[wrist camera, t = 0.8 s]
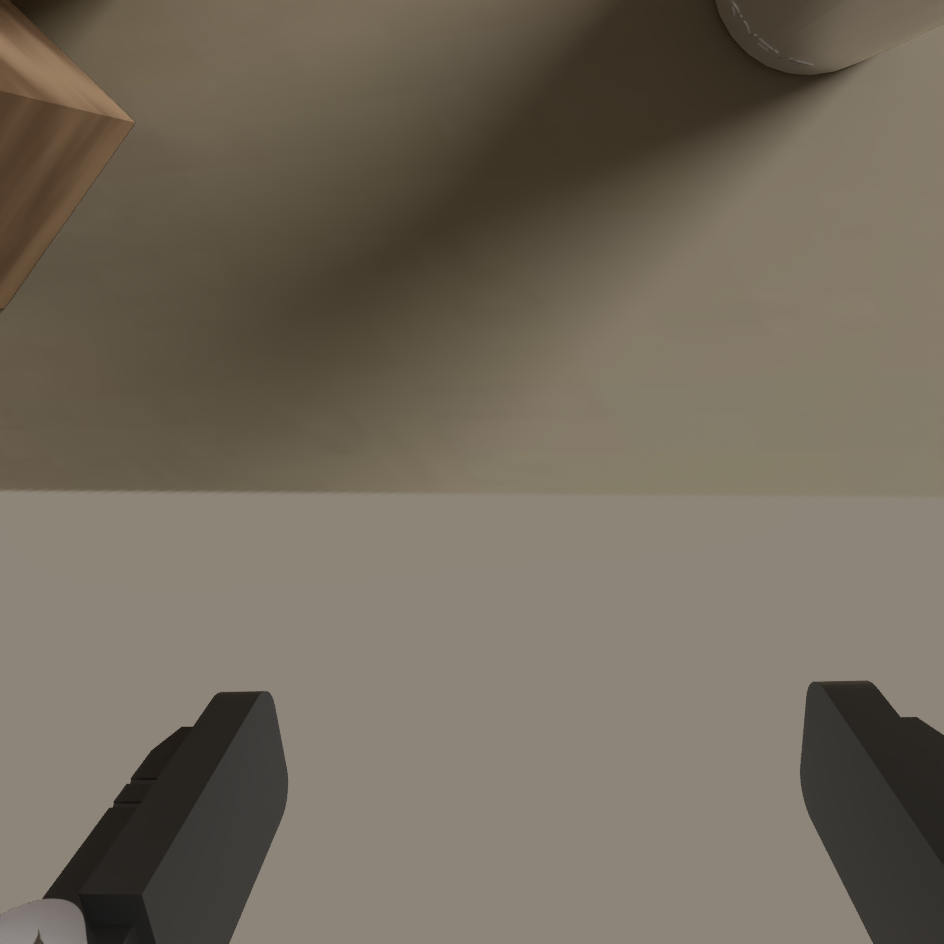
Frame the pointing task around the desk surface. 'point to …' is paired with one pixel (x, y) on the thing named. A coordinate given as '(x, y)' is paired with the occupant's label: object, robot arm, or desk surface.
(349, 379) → the desk surface
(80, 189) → the pedestal
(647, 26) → the desk surface
